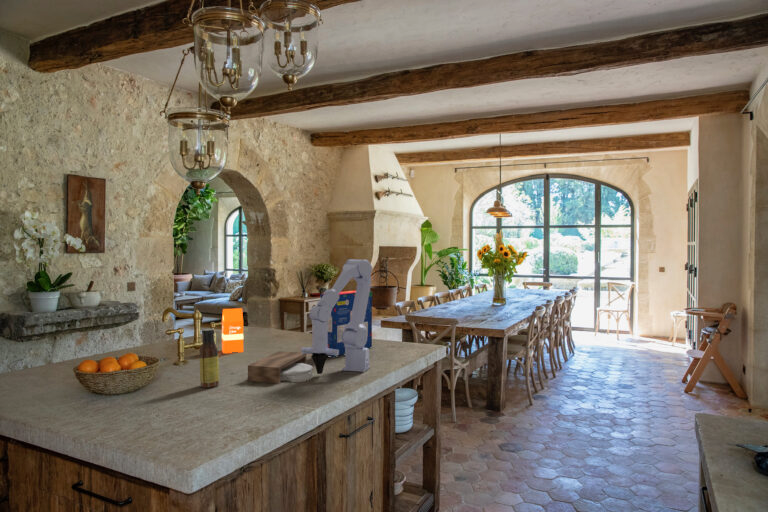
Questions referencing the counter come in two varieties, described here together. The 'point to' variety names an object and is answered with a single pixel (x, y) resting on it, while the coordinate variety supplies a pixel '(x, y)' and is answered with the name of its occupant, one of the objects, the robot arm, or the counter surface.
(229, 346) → the orange juice
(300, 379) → the lid
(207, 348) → the sauce bottle
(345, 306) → the pasta box
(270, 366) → the brown slab
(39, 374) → the counter surface
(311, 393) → the counter surface
